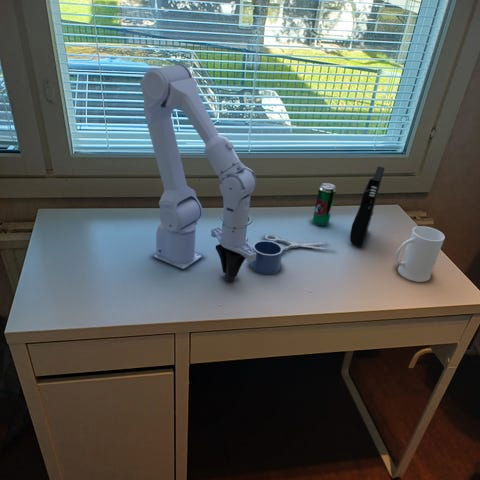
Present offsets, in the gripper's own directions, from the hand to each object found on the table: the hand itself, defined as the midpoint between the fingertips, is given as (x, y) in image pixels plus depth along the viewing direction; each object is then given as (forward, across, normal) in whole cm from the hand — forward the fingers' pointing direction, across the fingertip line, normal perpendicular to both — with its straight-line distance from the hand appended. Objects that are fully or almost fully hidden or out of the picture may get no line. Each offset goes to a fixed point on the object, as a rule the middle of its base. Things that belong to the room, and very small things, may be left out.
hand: (230, 274), depth 115 cm
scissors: (+1, +3, -26) cm, 27 cm away
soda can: (+2, +11, -44) cm, 45 cm away
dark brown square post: (+1, 0, 0) cm, 1 cm away
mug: (+2, -22, -43) cm, 49 cm away
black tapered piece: (+2, -2, -47) cm, 47 cm away
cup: (+1, 0, -12) cm, 12 cm away
